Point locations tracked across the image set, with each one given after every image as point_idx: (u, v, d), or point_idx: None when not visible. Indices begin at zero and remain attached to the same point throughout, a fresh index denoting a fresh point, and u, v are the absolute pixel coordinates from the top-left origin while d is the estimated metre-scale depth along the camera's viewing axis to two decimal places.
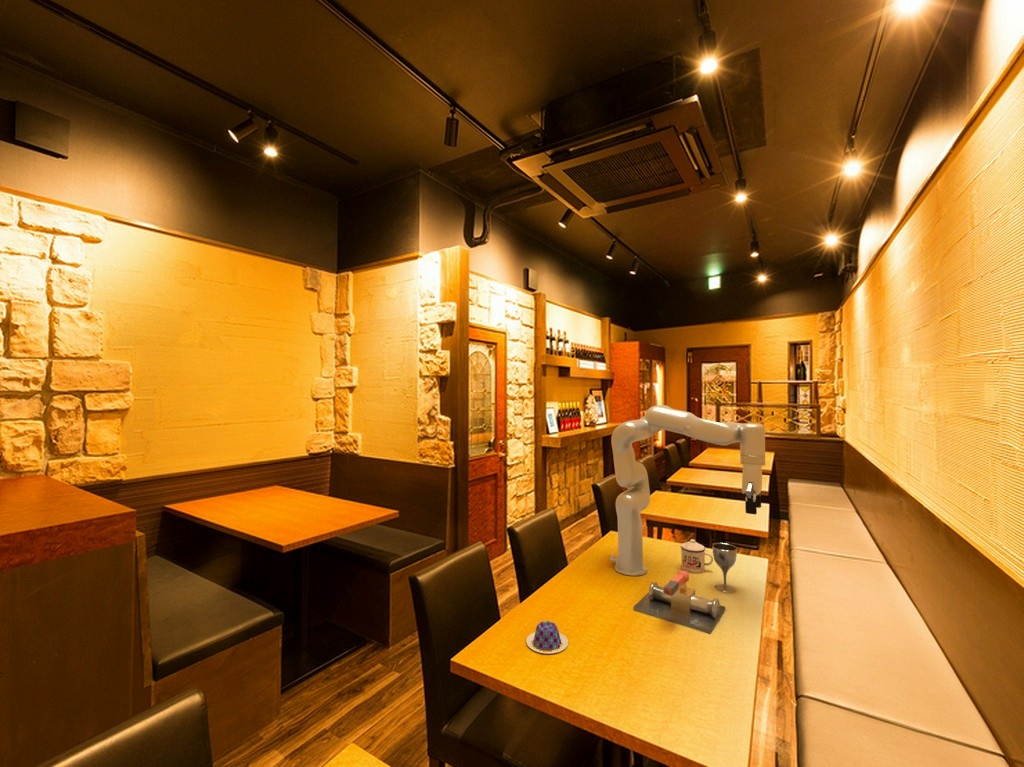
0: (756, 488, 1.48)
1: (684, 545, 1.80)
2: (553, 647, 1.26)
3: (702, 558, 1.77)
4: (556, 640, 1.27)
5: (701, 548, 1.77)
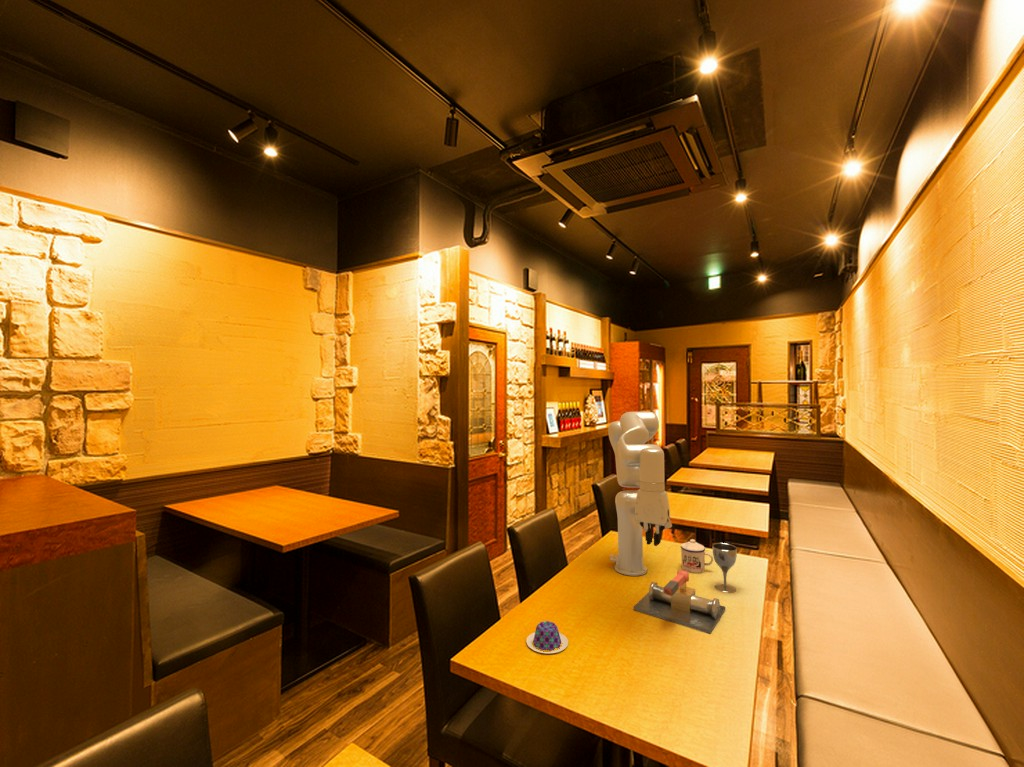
0: None
1: (684, 545, 1.80)
2: (554, 647, 1.26)
3: (702, 558, 1.77)
4: (556, 640, 1.27)
5: (701, 548, 1.77)
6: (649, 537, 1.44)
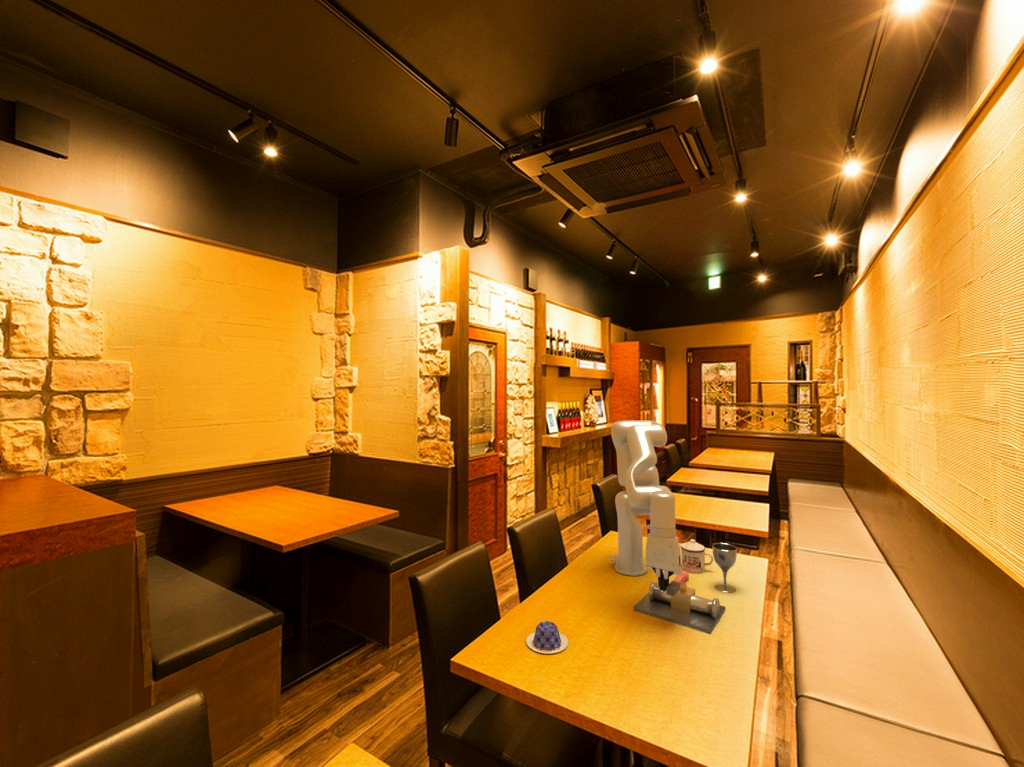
0: None
1: (684, 545, 1.80)
2: (554, 646, 1.26)
3: (702, 558, 1.77)
4: (557, 639, 1.27)
5: (701, 548, 1.77)
6: None
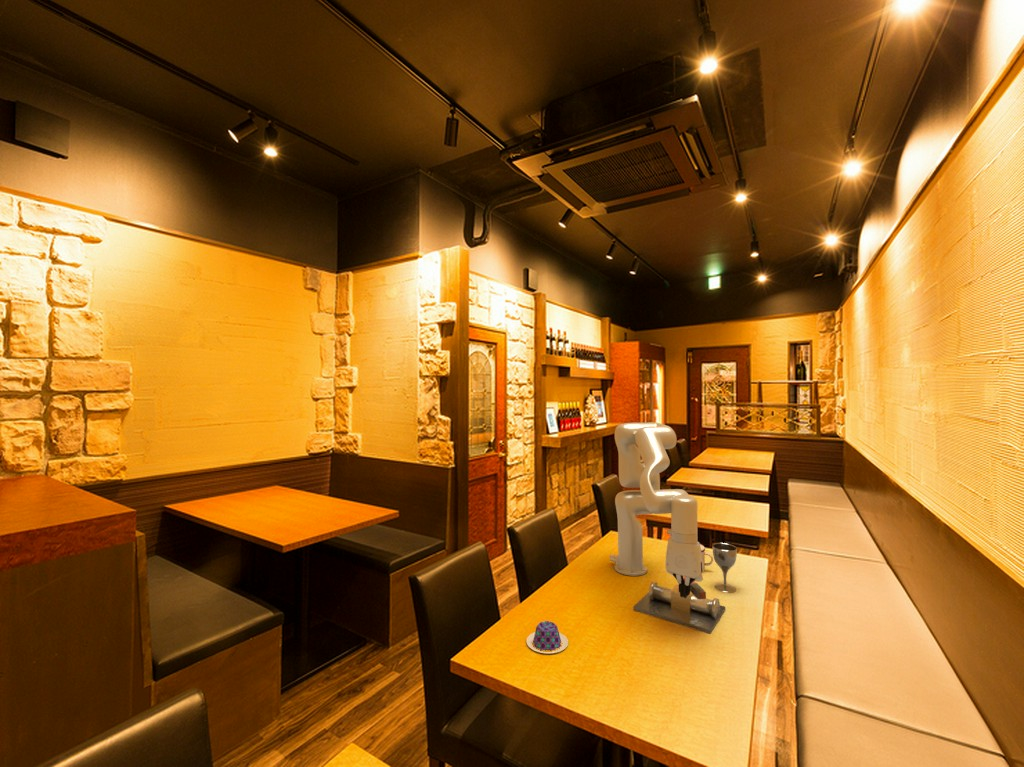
0: None
1: None
2: (555, 646, 1.26)
3: (702, 558, 1.77)
4: (557, 639, 1.27)
5: (701, 548, 1.77)
6: None
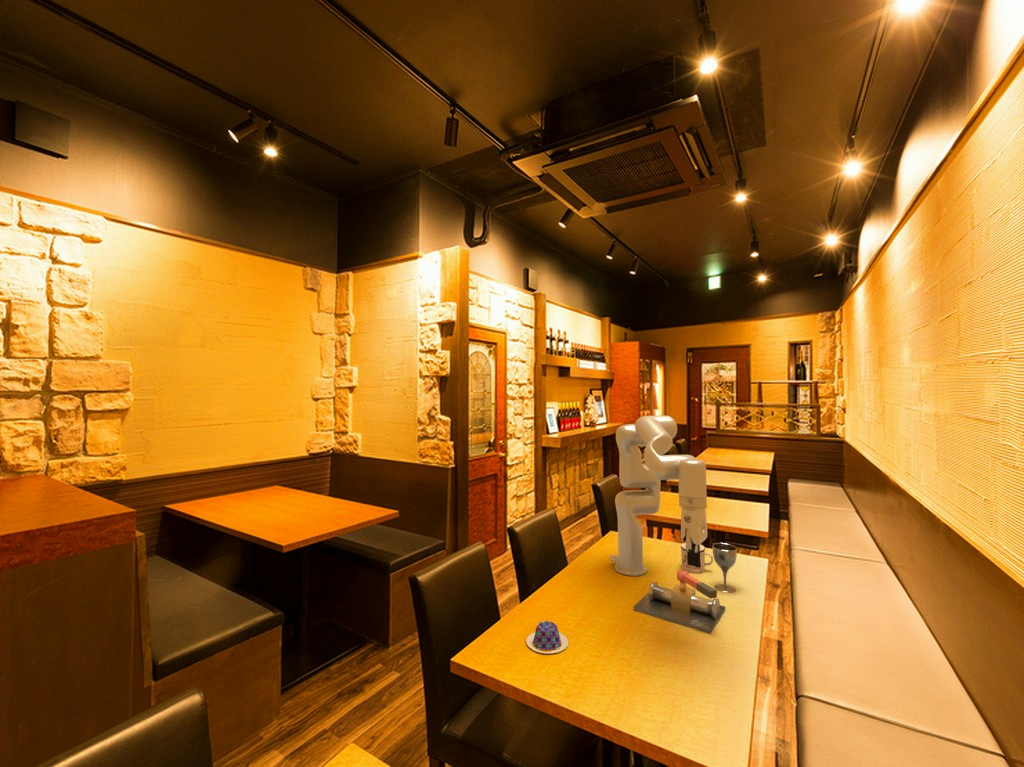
0: None
1: (684, 545, 1.80)
2: (555, 646, 1.27)
3: (702, 558, 1.77)
4: (558, 639, 1.28)
5: (701, 548, 1.77)
6: None
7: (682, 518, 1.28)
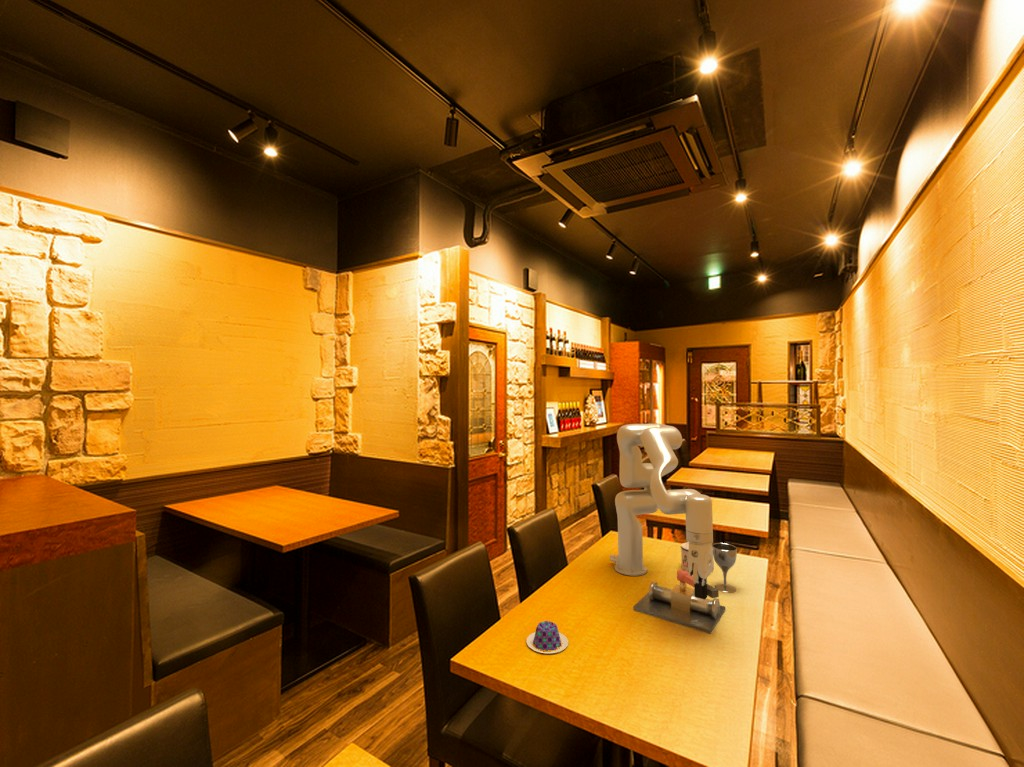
0: None
1: (684, 545, 1.80)
2: (556, 646, 1.27)
3: None
4: (558, 638, 1.28)
5: None
6: None
7: (689, 553, 1.34)
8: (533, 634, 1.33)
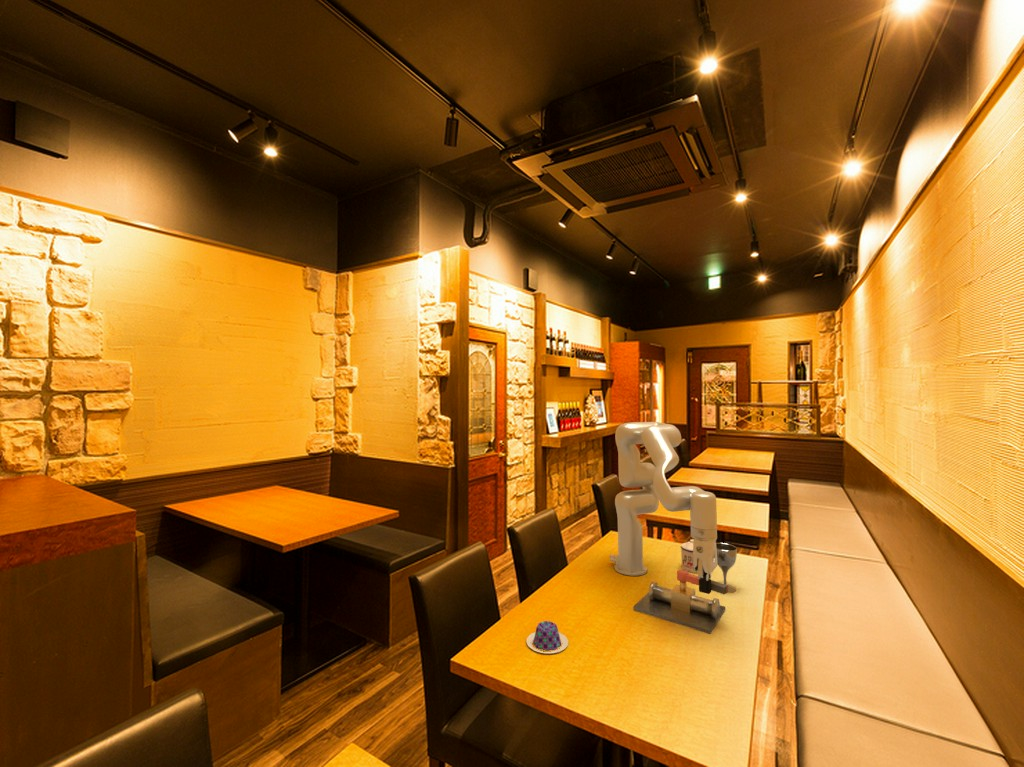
0: None
1: (684, 545, 1.80)
2: (557, 645, 1.27)
3: None
4: (558, 638, 1.28)
5: None
6: None
7: (694, 548, 1.37)
8: (532, 634, 1.33)
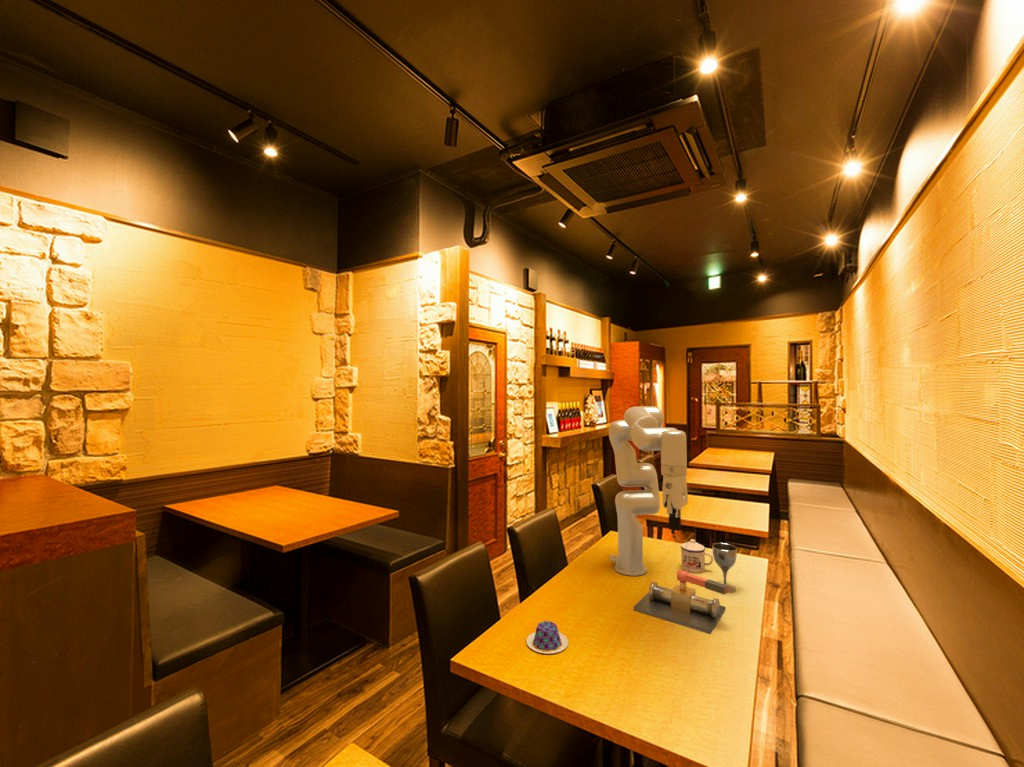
0: None
1: (684, 545, 1.80)
2: (557, 645, 1.27)
3: (702, 558, 1.77)
4: (559, 638, 1.28)
5: (701, 548, 1.77)
6: None
7: (663, 485, 1.37)
8: (532, 635, 1.33)
